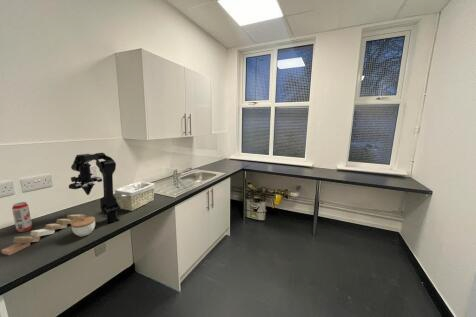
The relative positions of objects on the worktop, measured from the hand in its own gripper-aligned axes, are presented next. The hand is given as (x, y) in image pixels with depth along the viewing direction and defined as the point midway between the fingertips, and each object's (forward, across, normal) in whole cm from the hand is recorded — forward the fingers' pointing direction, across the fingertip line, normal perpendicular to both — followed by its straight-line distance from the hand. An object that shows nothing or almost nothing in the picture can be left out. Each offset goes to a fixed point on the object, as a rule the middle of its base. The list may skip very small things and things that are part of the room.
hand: (88, 194), depth 133 cm
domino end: (+12, +36, +3) cm, 38 cm away
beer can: (+13, +27, -15) cm, 34 cm away
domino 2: (+12, +25, +3) cm, 28 cm away
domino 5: (+12, +7, +3) cm, 14 cm away
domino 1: (+12, +33, +4) cm, 35 cm away
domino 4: (+12, +13, +3) cm, 18 cm away
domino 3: (+12, +19, +3) cm, 22 cm away
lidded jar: (+13, +20, +22) cm, 33 cm away
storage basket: (+13, -21, +20) cm, 32 cm away
